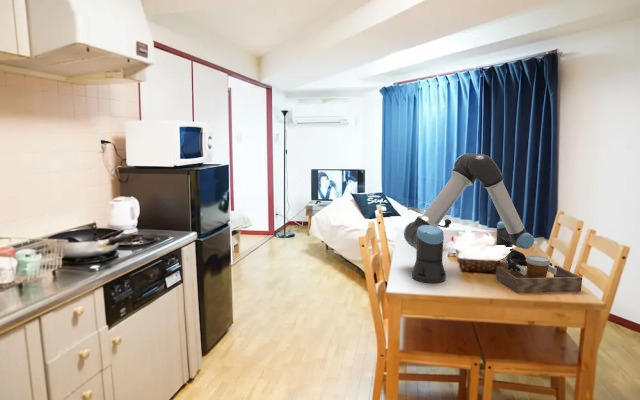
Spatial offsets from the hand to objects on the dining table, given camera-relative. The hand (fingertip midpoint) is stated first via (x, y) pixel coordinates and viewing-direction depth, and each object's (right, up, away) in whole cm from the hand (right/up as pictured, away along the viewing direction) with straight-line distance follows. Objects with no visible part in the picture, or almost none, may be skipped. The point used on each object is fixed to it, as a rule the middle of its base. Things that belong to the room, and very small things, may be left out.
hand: (540, 272), depth 176 cm
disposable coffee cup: (0, -6, +3) cm, 7 cm away
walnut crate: (0, -6, +2) cm, 7 cm away
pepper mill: (-28, +2, +63) cm, 69 cm away
